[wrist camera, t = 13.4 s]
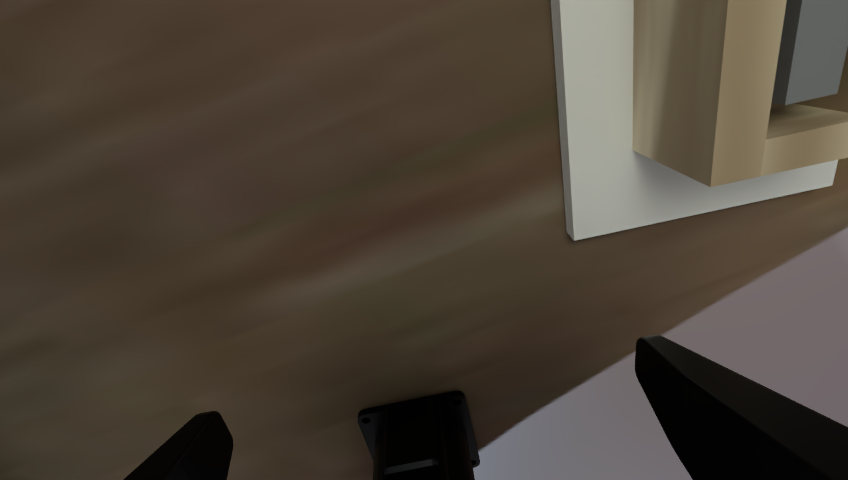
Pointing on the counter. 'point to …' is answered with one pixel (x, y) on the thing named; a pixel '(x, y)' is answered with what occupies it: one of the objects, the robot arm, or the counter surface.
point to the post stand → (613, 117)
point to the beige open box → (724, 93)
